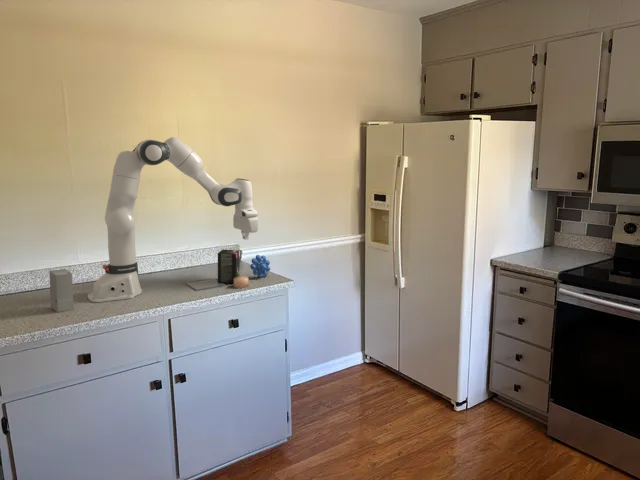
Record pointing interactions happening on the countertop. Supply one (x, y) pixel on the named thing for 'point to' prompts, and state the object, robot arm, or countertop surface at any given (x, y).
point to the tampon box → (228, 265)
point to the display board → (205, 284)
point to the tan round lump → (241, 282)
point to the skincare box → (61, 290)
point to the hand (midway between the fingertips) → (245, 239)
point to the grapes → (260, 266)
